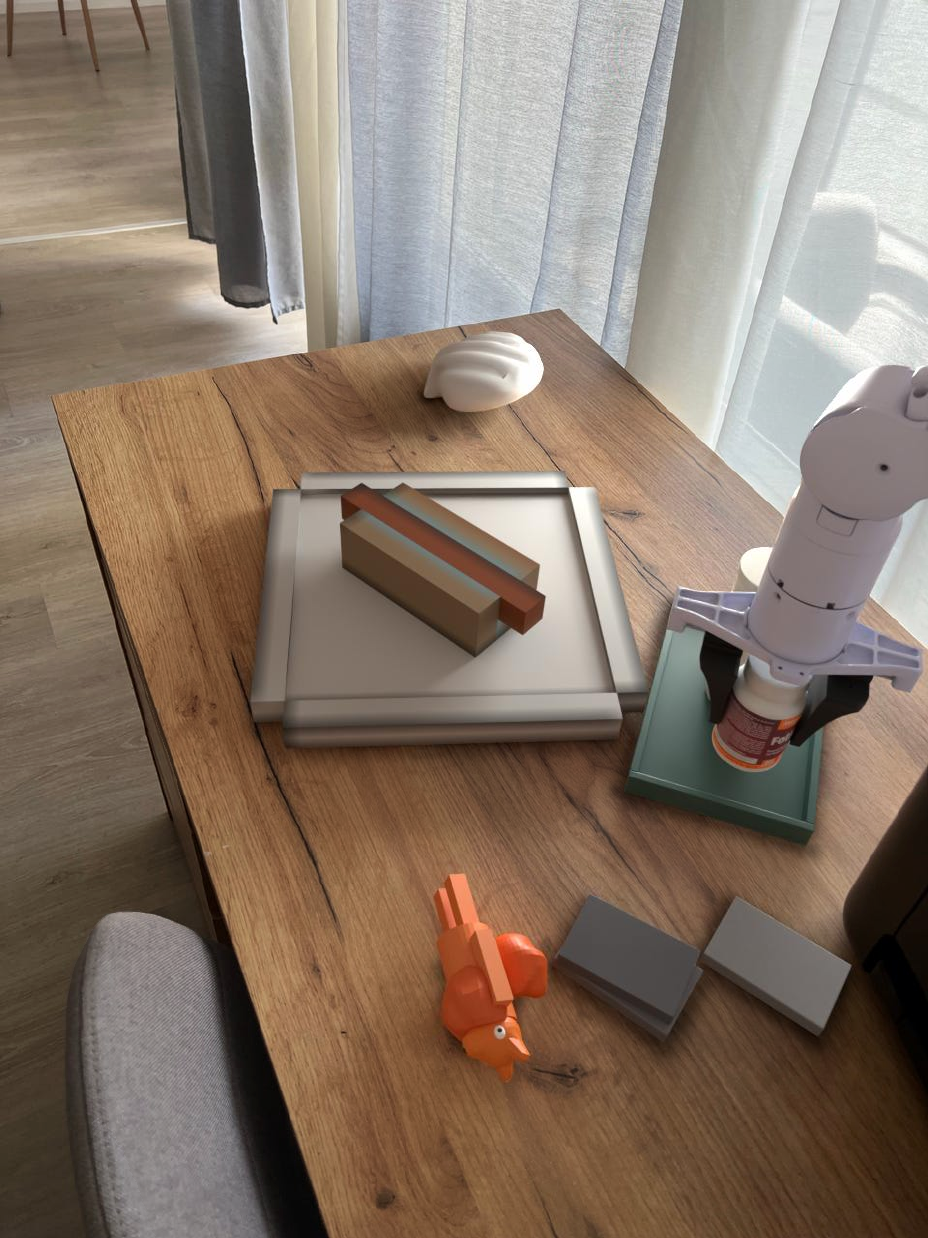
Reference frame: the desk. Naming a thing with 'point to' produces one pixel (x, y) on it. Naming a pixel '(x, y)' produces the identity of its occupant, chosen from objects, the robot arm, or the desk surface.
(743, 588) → the white cylinders
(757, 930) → the grey books
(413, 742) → the silver square tray
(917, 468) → the robot arm
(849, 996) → the desk surface
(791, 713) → the pill bottle
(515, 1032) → the orange toy bird
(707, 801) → the tray
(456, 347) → the shell shaped sculpture
